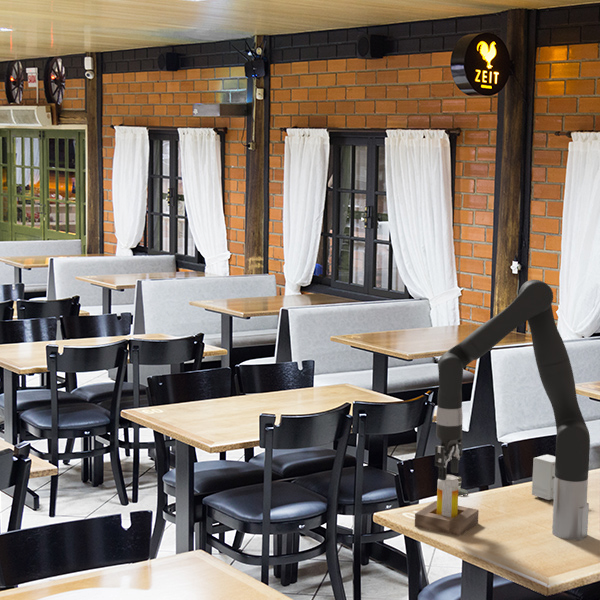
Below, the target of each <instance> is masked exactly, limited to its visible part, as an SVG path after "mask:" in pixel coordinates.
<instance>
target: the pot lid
mask: <svg viewBox="0 0 600 600" xmlns="http://www.w3.org/2000/svg"><path fill="white" fill-rule="evenodd" d="M455 476H456V477H457V479H458V481H459V484H458V496H463V495H467V494H468V493H469V491H468V490H467V489H464V488H461V486H462V481H463V479H462V477H461V476H459V475H455Z"/></svg>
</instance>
